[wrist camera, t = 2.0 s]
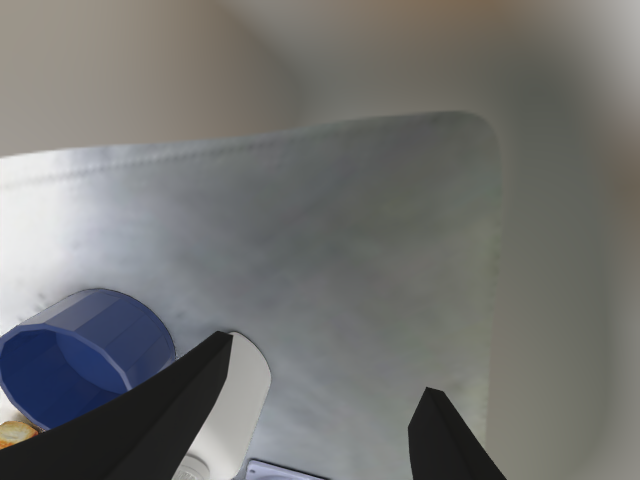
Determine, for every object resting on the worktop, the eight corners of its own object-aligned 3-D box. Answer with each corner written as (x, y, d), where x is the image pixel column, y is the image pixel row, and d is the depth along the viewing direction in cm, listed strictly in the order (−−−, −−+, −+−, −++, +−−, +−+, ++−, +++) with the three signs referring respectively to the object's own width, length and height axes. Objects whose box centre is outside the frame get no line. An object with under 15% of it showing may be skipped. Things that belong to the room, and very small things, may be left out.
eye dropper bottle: (223, 384, 26) (118, 580, 14) (214, 328, 24) (85, 502, 13) (273, 388, 25) (205, 594, 14) (268, 330, 23) (184, 515, 12)
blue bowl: (172, 405, 27) (136, 459, 23) (62, 375, 28) (5, 422, 23) (179, 307, 24) (136, 348, 19) (51, 274, 24) (-19, 307, 19)
